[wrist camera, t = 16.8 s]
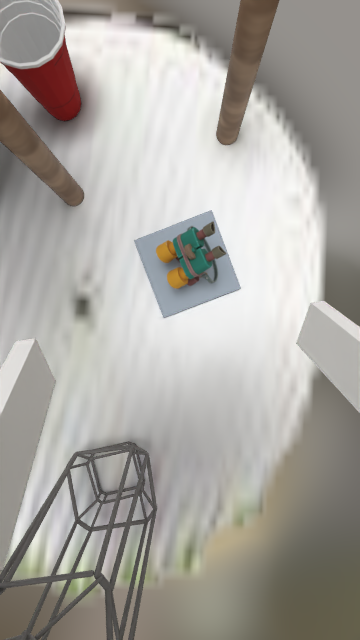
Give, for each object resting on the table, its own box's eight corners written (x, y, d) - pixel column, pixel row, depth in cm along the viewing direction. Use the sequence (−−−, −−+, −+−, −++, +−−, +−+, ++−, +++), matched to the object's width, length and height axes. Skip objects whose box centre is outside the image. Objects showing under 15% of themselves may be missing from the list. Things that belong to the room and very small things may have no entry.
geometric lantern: (154, 419, 42) (28, 984, 7) (169, 503, 43) (124, 1388, 8) (66, 433, 42) (-499, 1066, 7) (82, 517, 43) (-347, 1455, 8)
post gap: (59, 189, 41) (-158, -28, 15) (233, 119, 40) (326, -239, 14) (67, 209, 41) (-136, 28, 15) (240, 140, 40) (347, -179, 14)
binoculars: (181, 241, 42) (145, 238, 34) (226, 212, 37) (198, 200, 29) (201, 289, 42) (170, 298, 34) (249, 268, 37) (226, 272, 29)
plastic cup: (97, 137, 40) (61, 63, 28) (34, 136, 41) (-28, 62, 29) (97, 70, 40) (61, -33, 28) (34, 70, 40) (-30, -32, 28)
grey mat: (134, 241, 41) (134, 240, 40) (211, 211, 40) (211, 210, 40) (163, 317, 41) (163, 317, 41) (239, 288, 41) (240, 288, 40)
